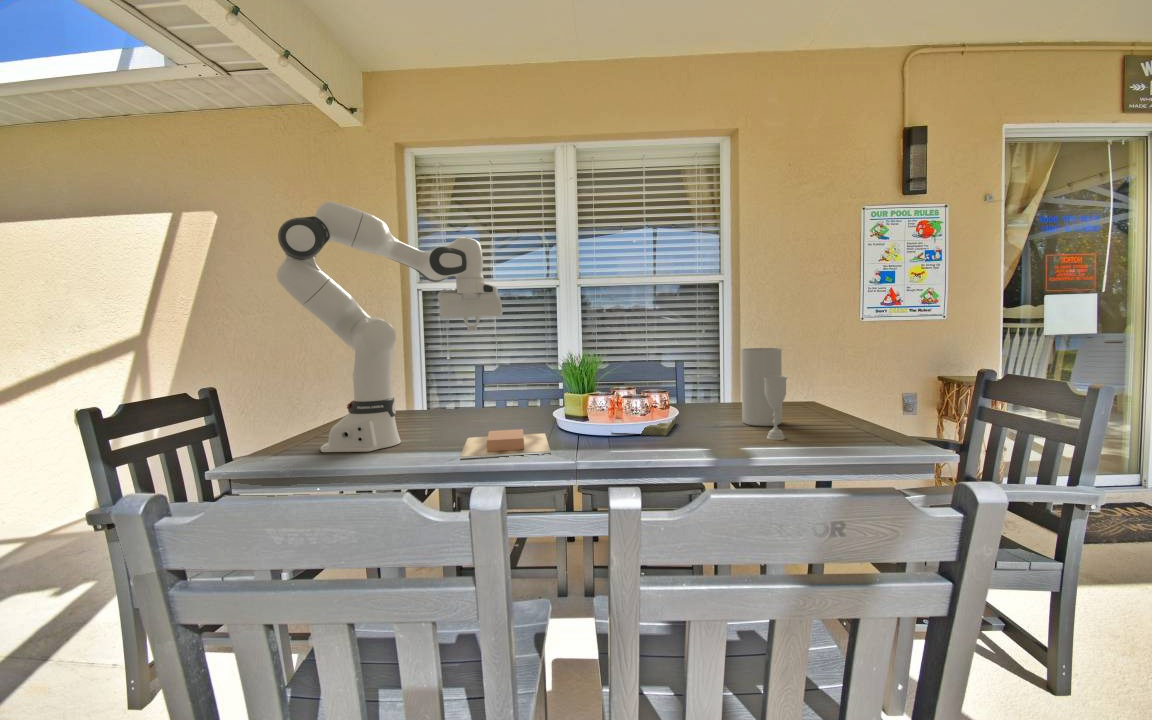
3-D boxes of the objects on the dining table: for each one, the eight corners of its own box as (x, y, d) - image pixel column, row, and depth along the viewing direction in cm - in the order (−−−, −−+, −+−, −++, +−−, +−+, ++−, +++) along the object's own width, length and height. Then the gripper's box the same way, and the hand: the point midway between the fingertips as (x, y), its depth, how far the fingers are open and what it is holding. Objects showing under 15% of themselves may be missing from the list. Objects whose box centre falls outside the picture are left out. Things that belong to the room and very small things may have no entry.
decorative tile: (676, 424, 175) (675, 414, 175) (667, 437, 156) (666, 425, 156) (623, 423, 181) (623, 413, 181) (608, 435, 162) (608, 424, 162)
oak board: (460, 460, 134) (459, 456, 134) (468, 440, 158) (468, 437, 158) (550, 454, 137) (550, 451, 137) (545, 436, 160) (545, 433, 160)
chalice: (761, 435, 152) (760, 375, 151) (785, 435, 150) (785, 375, 149) (765, 440, 145) (764, 378, 144) (790, 441, 143) (790, 377, 142)
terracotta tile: (489, 441, 151) (487, 452, 138) (489, 431, 151) (486, 440, 138) (523, 439, 152) (524, 449, 139) (522, 429, 152) (523, 438, 139)
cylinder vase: (738, 420, 177) (737, 348, 175) (775, 419, 176) (775, 347, 174) (747, 427, 165) (746, 350, 163) (787, 426, 163) (786, 349, 162)
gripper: (436, 288, 161) (438, 332, 161) (501, 287, 163) (503, 330, 164) (439, 290, 167) (441, 332, 168) (501, 288, 169) (503, 330, 170)
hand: (472, 331), depth 166 cm, fingers closed
